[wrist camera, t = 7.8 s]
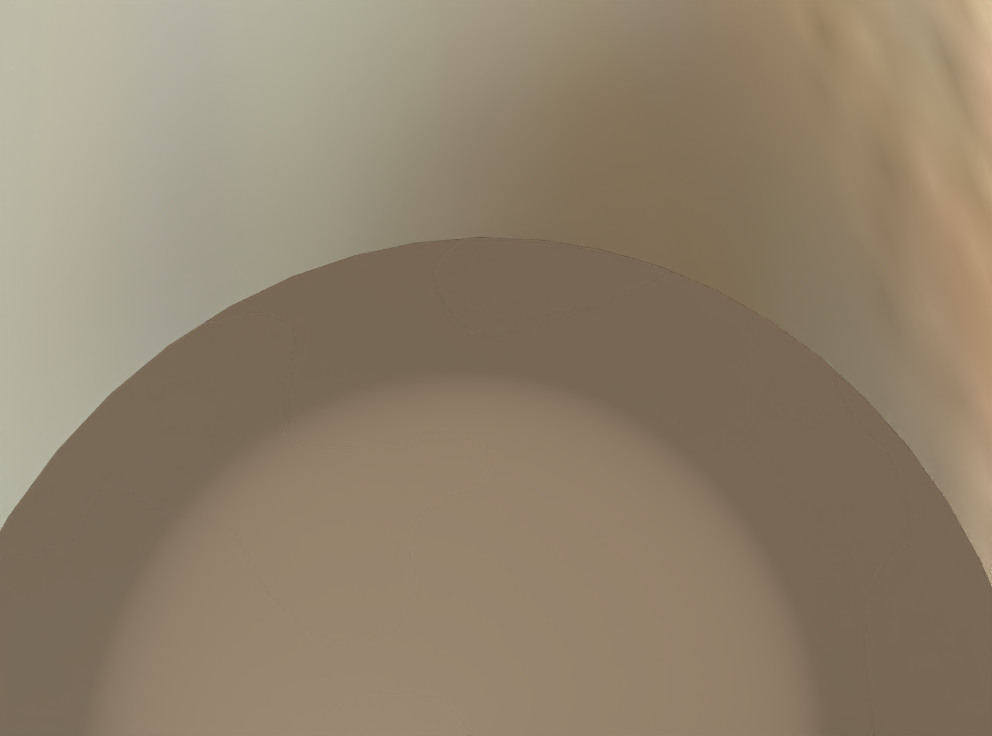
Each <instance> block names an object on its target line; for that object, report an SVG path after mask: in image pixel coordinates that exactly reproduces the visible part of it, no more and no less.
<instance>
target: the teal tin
mask: <svg viewBox="0 0 992 736" xmlns="http://www.w3.org/2000/svg"><path fill="white" fill-rule="evenodd" d="M0 736H992V586H991V584H990V582H989V580H988V577H987V575H986V573H985V570H984V568H983V566H982V563H981V561H980V559H979V557H978V555H977V553H976V552H975V550H974V548H973V546H972V545H971V543H970V541H969V539H968V538H967V536H966V534H965V532H964V530H963V529H962V527H961V525H960V523H959V522H958V520H957V518H956V516H955V515H954V513H953V511H952V509H951V507H950V506H949V504H948V502H947V500H946V499H945V498H944V496H943V495H942V493H941V492H940V490H939V489H938V488H937V486H936V485H935V483H934V482H933V481H932V479H931V478H930V476H929V475H928V474H927V472H926V471H925V469H924V468H923V467H922V465H921V464H920V462H919V461H918V460H917V458H916V457H915V455H914V454H913V453H912V451H911V450H910V448H909V447H908V446H907V445H906V444H905V442H904V441H903V440H902V439H901V438H900V437H899V436H898V434H897V433H896V432H895V431H894V430H893V429H892V428H891V427H890V425H889V424H888V423H887V422H886V421H885V420H884V419H883V418H882V416H881V415H880V414H879V413H878V412H877V411H876V410H875V408H874V407H873V406H872V405H871V404H870V403H869V402H868V401H867V399H866V398H864V397H863V396H862V395H861V394H860V393H859V392H858V391H857V390H856V389H855V388H853V387H852V386H851V385H850V384H849V383H848V382H847V381H846V380H845V379H844V378H842V377H841V376H840V375H839V374H838V373H837V372H836V371H835V370H834V369H833V368H832V367H830V366H829V365H828V364H827V363H826V362H825V361H824V360H823V359H822V358H821V357H819V356H818V355H817V354H815V353H814V352H812V351H811V350H810V349H808V348H807V347H806V346H804V345H803V344H801V343H800V342H799V341H797V340H796V339H795V338H793V337H792V336H790V335H789V334H788V333H786V332H785V331H784V330H782V329H781V328H779V327H778V326H777V325H775V324H774V323H772V322H771V321H770V320H768V319H766V318H764V317H763V316H761V315H759V314H757V313H756V312H754V311H752V310H750V309H748V308H747V307H745V306H743V305H741V304H740V303H738V302H736V301H734V300H733V299H731V298H729V297H727V296H726V295H724V294H722V293H720V292H718V291H717V290H714V289H712V288H710V287H707V286H705V285H702V284H700V283H698V282H695V281H693V280H691V279H688V278H686V277H684V276H681V275H679V274H676V273H674V272H672V271H669V270H667V269H665V268H662V267H659V266H656V265H653V264H649V263H646V262H642V261H639V260H635V259H632V258H628V257H625V256H622V255H618V254H615V253H611V252H608V251H604V250H600V249H593V248H587V247H581V246H575V245H569V244H563V243H557V242H551V241H545V240H528V239H505V238H482V237H480V238H468V239H455V240H443V241H430V242H418V243H413V244H408V245H403V246H398V247H393V248H389V249H384V250H379V251H374V252H369V253H364V254H359V255H355V256H352V257H349V258H346V259H343V260H340V261H337V262H334V263H331V264H328V265H325V266H322V267H319V268H316V269H313V270H310V271H307V272H304V273H301V274H298V275H295V276H292V277H290V278H288V279H286V280H284V281H282V282H280V283H278V284H275V285H273V286H271V287H269V288H267V289H265V290H263V291H261V292H259V293H257V294H255V295H253V296H250V297H248V298H246V299H244V300H242V301H240V302H238V303H236V304H234V305H232V306H230V307H228V308H226V309H225V310H223V311H222V312H220V313H219V314H217V315H216V316H214V317H212V318H211V319H209V320H208V321H206V322H205V323H203V324H202V325H200V326H198V327H197V328H195V329H194V330H192V331H191V332H189V333H188V334H186V335H184V336H183V337H181V338H180V339H178V340H177V341H175V342H174V343H172V344H170V345H169V346H168V347H166V348H165V349H164V350H163V351H162V352H160V353H159V354H158V355H157V356H156V357H154V358H153V359H152V360H151V361H150V362H148V363H147V364H146V365H145V366H144V367H142V368H141V369H140V370H139V371H138V372H136V373H135V374H134V375H133V376H132V377H130V378H129V379H128V380H127V381H126V382H124V383H123V384H122V385H121V386H119V387H118V388H117V389H116V390H115V391H113V392H112V393H111V394H110V395H109V396H108V397H107V398H106V399H105V400H104V401H103V403H102V404H101V405H100V406H99V407H98V408H97V409H96V410H95V411H94V412H93V413H92V414H91V415H90V416H89V417H88V418H87V420H86V421H85V422H84V423H83V424H82V425H81V426H80V427H79V428H78V429H77V430H76V431H75V432H74V433H73V434H72V435H71V437H70V438H69V439H68V440H67V441H66V442H65V443H64V444H63V445H62V446H61V447H60V448H59V449H58V450H57V452H56V453H55V454H54V456H53V457H52V458H51V460H50V461H49V462H48V464H47V465H46V466H45V468H44V469H43V471H42V472H41V473H40V475H39V476H38V477H37V479H36V480H35V481H34V483H33V484H32V485H31V487H30V488H29V490H28V491H27V492H26V494H25V495H24V496H23V498H22V499H21V500H20V502H19V503H18V505H17V506H16V507H15V509H14V510H13V511H12V513H11V514H10V515H9V517H8V518H7V520H6V522H5V524H4V526H3V527H2V529H1V531H0Z"/></svg>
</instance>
